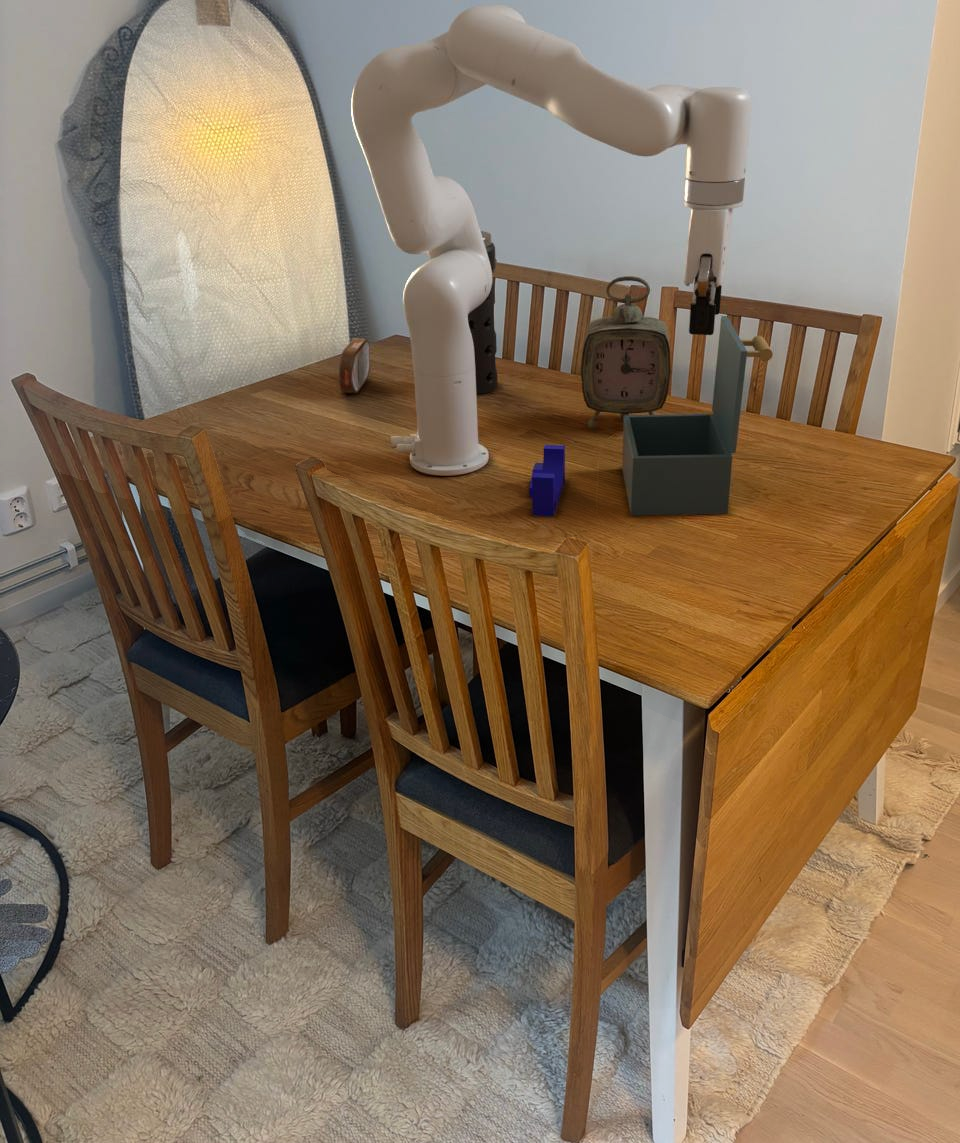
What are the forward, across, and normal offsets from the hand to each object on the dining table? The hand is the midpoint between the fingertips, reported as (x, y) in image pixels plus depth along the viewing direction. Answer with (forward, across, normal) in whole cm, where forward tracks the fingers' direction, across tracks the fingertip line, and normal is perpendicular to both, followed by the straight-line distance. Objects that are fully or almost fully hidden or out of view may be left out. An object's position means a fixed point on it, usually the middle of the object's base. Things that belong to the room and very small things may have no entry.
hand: (704, 323), depth 147 cm
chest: (+25, 0, -3) cm, 25 cm away
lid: (+9, -1, +3) cm, 9 cm away
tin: (+26, -36, -67) cm, 80 cm away
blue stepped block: (+26, +6, -21) cm, 34 cm away
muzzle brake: (+26, -39, -45) cm, 65 cm away
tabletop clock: (+25, -25, -14) cm, 39 cm away
